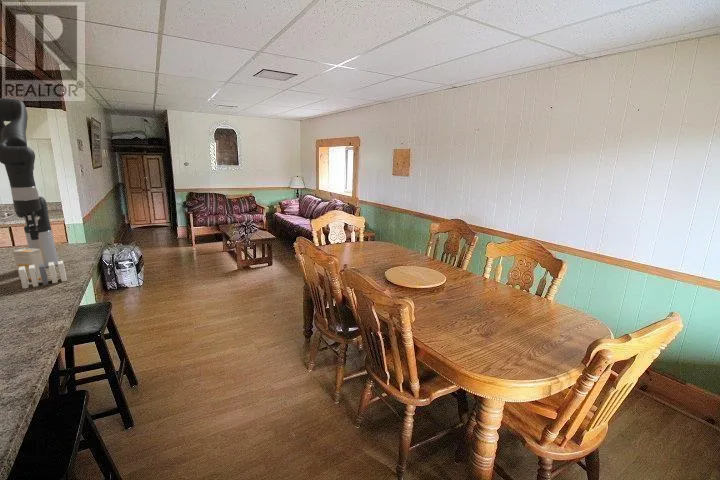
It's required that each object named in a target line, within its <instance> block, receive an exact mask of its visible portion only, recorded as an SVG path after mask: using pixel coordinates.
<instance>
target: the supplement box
mask: <svg viewBox="0 0 720 480" xmlns="http://www.w3.org/2000/svg"><path fill="white" fill-rule="evenodd" d="M12 253H13V254H12V255H13V258H14V260H15V265H16V269H17V272H18V276H19V278H20V275H19V271H18V270H19V267H22V266H25V270H26V274H27V278H28V281H32V280H31V276H30V272H29V265H35V269H36V273H37V277H38V281H39V280H42V278H41V274H40V270H39V264H42V263H43V259H42V255H41V251H40V249H30V248H29V247H27V248H25V247H24V248H19V249H15V250H13V251H12Z"/></svg>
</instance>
